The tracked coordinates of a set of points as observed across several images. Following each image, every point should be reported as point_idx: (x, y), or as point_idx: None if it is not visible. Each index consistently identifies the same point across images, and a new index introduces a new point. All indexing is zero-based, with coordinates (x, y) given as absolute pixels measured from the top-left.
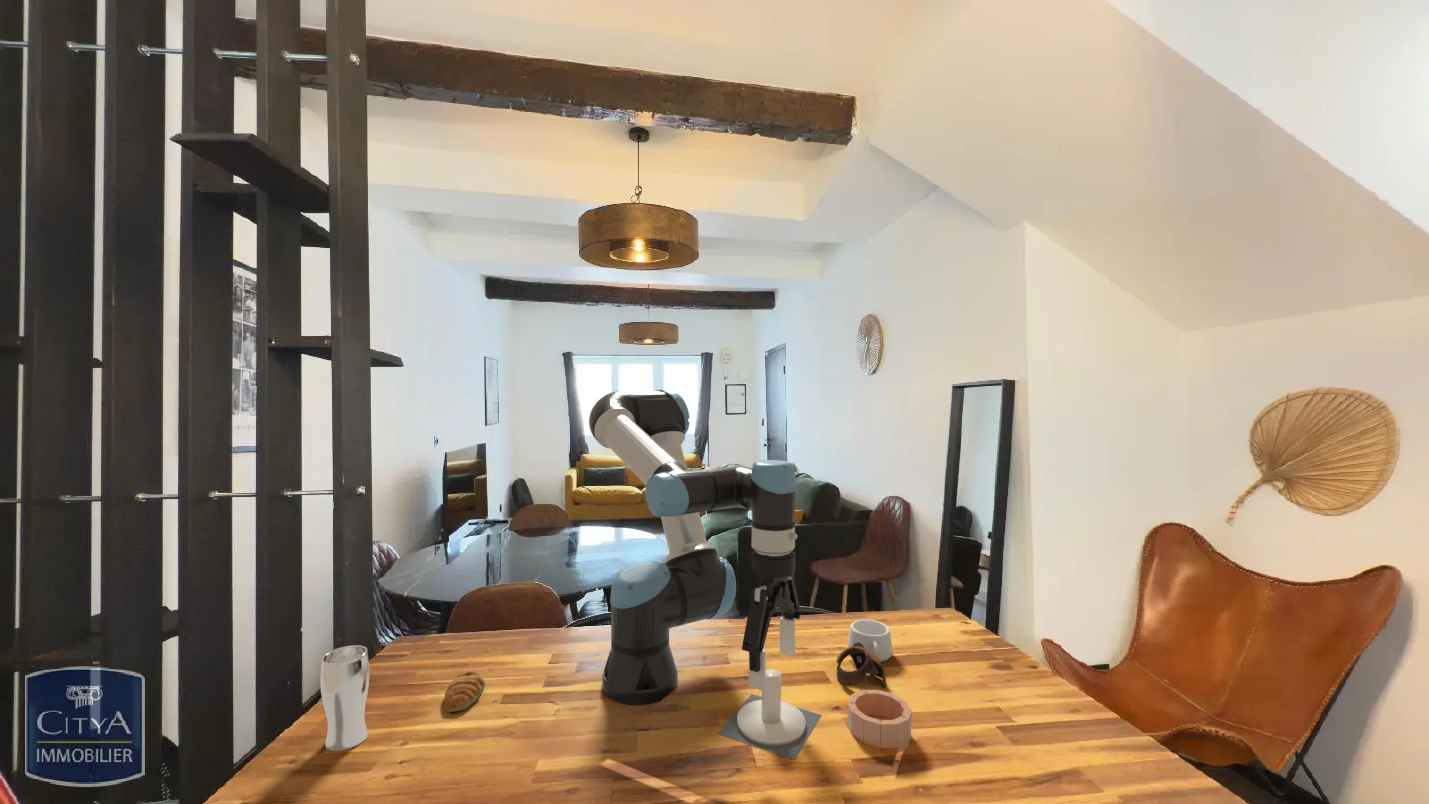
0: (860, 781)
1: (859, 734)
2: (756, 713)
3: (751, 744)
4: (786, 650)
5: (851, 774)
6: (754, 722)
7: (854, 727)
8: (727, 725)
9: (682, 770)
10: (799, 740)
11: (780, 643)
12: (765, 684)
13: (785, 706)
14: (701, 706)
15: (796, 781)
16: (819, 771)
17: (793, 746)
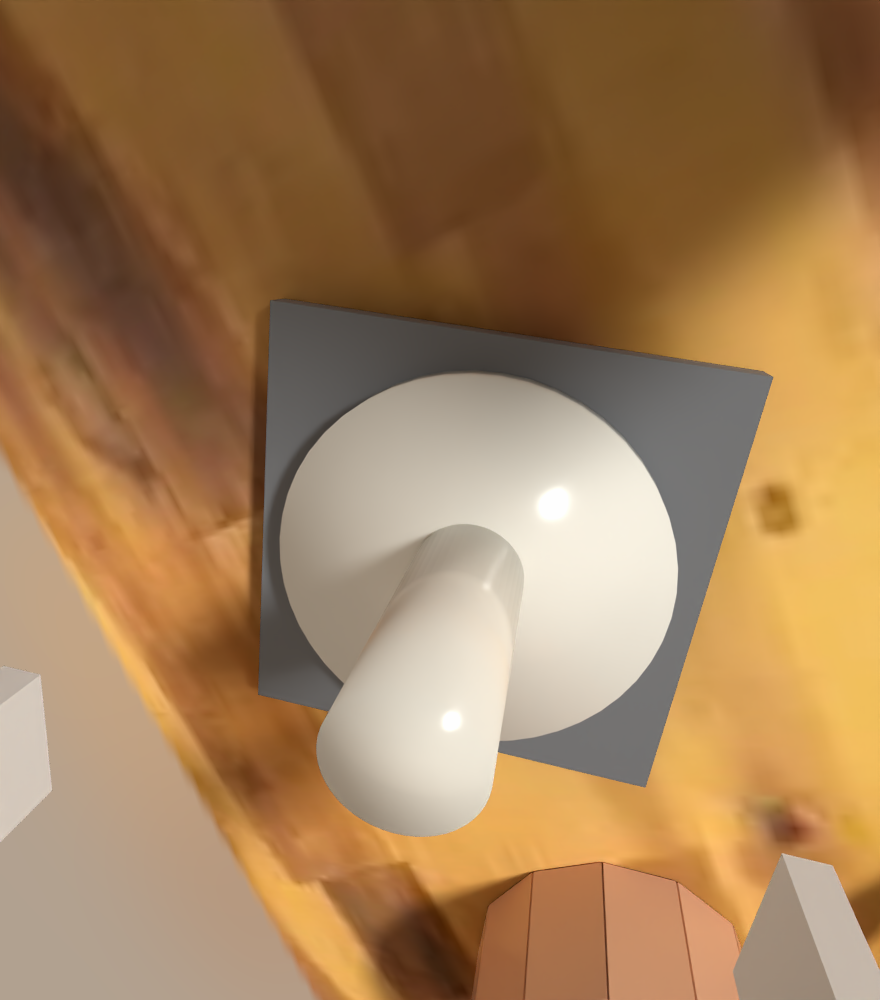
0: (300, 880)
1: (496, 940)
2: (486, 487)
3: (267, 504)
4: (772, 959)
5: (321, 858)
6: (394, 497)
7: (516, 940)
8: (362, 331)
9: (4, 217)
10: None
11: (821, 977)
12: (20, 819)
13: (618, 634)
14: (568, 38)
15: (196, 692)
16: (286, 762)
17: (340, 684)
